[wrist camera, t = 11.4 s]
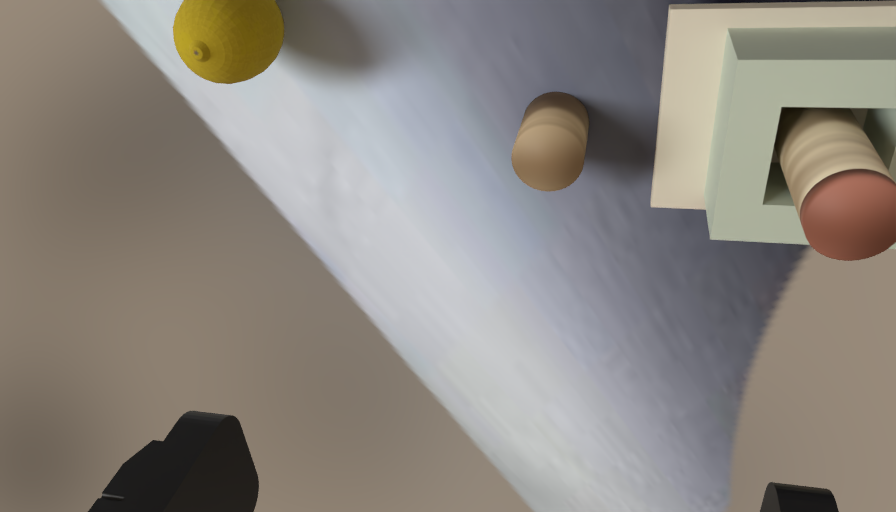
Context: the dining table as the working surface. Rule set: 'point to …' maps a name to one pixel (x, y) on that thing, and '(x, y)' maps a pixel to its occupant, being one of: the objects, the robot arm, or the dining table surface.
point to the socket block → (764, 103)
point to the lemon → (228, 37)
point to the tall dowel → (836, 182)
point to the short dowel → (551, 142)
